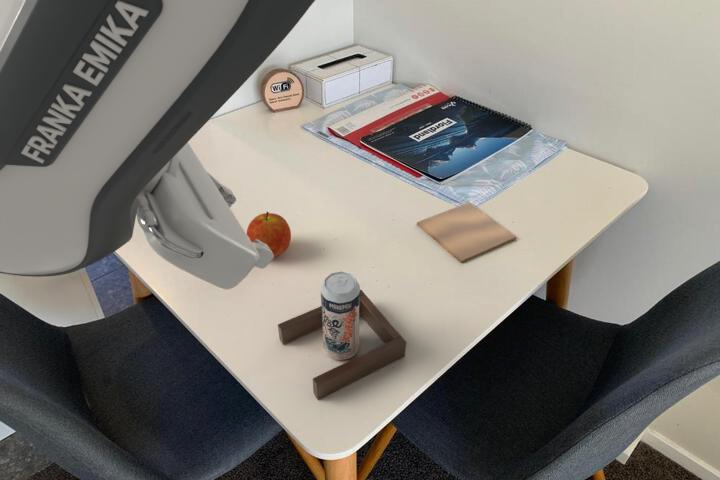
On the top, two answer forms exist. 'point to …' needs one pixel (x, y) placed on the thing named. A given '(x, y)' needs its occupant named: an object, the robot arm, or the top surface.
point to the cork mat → (466, 231)
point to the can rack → (357, 366)
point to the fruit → (270, 232)
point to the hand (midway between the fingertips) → (247, 227)
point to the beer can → (340, 315)
